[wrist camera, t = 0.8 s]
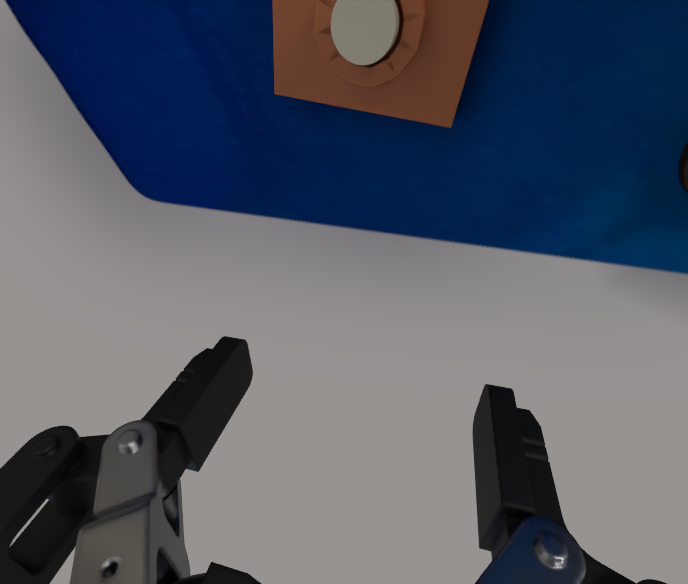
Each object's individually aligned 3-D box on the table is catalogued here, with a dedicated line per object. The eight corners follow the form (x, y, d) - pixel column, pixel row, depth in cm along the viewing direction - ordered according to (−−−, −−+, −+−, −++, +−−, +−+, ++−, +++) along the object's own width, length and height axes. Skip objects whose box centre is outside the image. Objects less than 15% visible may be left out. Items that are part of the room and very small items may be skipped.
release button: (335, 55, 24) (328, 59, 23) (341, -23, 22) (333, -23, 20) (392, 65, 24) (388, 70, 23) (406, -13, 21) (402, -12, 20)
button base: (284, 88, 30) (265, 100, 27) (283, -108, 22) (256, -121, 19) (451, 119, 28) (450, 135, 25) (510, -79, 21) (518, -88, 18)
